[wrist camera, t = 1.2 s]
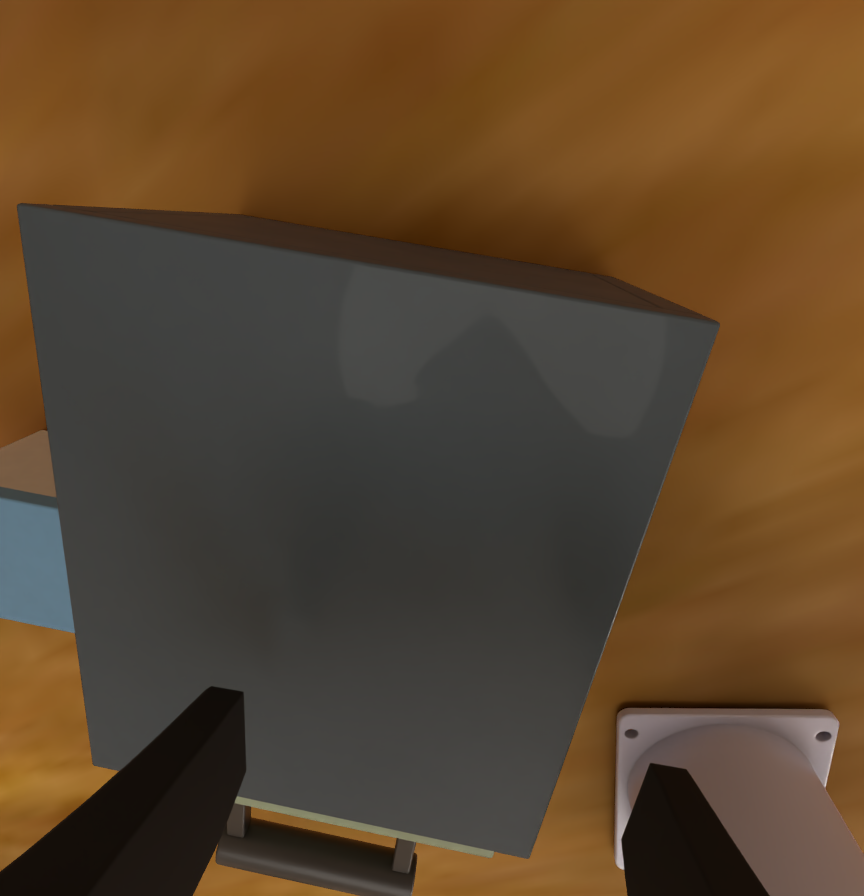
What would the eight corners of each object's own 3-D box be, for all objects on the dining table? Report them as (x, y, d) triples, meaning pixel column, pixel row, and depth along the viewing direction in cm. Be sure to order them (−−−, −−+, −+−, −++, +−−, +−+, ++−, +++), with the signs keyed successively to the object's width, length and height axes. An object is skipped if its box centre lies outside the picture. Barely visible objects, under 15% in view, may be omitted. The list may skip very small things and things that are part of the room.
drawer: (471, 765, 23) (462, 956, 17) (236, 717, 23) (147, 886, 17) (574, 369, 16) (621, 453, 10) (243, 311, 17) (99, 359, 11)
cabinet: (517, 633, 21) (529, 860, 13) (233, 577, 22) (91, 766, 14) (614, 277, 16) (722, 323, 8) (237, 213, 16) (14, 202, 9)
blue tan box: (165, 555, 21) (84, 636, 17) (55, 533, 22) (-52, 608, 17) (160, 450, 20) (68, 511, 15) (39, 427, 20) (-84, 481, 16)
